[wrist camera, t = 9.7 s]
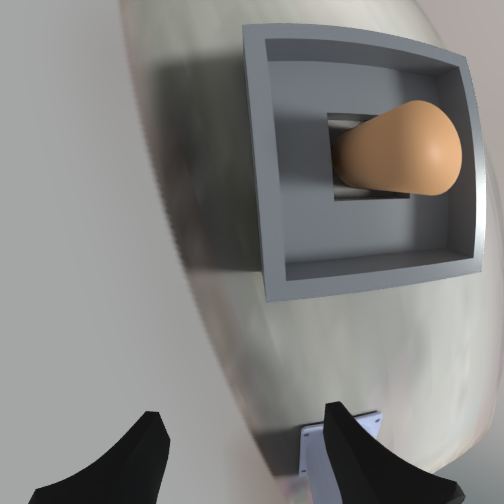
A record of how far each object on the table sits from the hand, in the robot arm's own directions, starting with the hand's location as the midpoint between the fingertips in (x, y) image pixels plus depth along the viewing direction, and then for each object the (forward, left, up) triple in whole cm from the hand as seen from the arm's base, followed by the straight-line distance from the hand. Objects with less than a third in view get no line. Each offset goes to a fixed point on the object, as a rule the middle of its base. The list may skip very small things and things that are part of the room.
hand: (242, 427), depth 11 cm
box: (+11, -9, -9) cm, 17 cm away
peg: (+11, -9, -9) cm, 17 cm away
